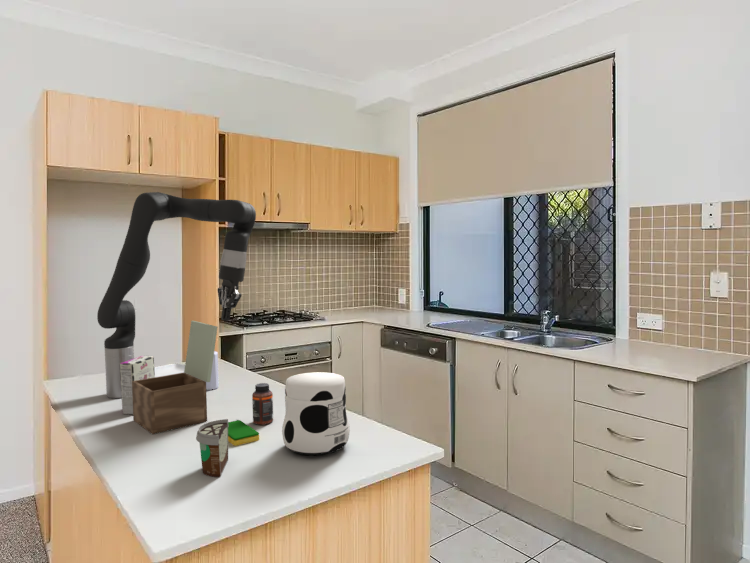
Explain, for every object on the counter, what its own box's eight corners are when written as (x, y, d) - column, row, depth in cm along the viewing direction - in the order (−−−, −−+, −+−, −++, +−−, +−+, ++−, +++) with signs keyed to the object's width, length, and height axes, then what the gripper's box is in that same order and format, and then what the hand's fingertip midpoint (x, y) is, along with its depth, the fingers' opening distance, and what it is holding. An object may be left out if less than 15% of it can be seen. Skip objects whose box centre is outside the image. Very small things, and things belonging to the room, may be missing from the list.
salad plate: (209, 376, 216) (209, 368, 216) (164, 388, 198) (164, 379, 198) (175, 370, 227) (175, 362, 227) (129, 381, 209) (129, 372, 209)
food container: (204, 459, 132) (202, 419, 131) (229, 458, 133) (228, 418, 132) (191, 481, 120) (189, 437, 119) (219, 479, 120) (217, 436, 120)
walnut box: (133, 420, 161) (131, 381, 160) (185, 409, 172) (184, 372, 171) (152, 434, 149) (150, 392, 149) (207, 421, 160) (205, 381, 159)
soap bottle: (224, 386, 199) (223, 332, 197) (207, 392, 192) (205, 335, 190) (200, 382, 206) (199, 329, 204) (183, 386, 199) (181, 332, 198)
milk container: (289, 435, 148) (288, 371, 147) (352, 435, 147) (351, 371, 146) (276, 460, 131) (274, 388, 129) (346, 461, 130) (346, 388, 129)
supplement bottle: (277, 420, 160) (276, 383, 160) (265, 426, 155) (264, 388, 154) (261, 417, 163) (260, 381, 162) (248, 423, 158) (247, 386, 157)
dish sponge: (234, 447, 140) (234, 438, 140) (215, 432, 151) (215, 424, 151) (259, 441, 145) (259, 432, 144) (239, 427, 156) (239, 419, 156)
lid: (191, 320, 172) (194, 320, 173) (184, 372, 171) (187, 372, 172) (214, 326, 160) (217, 326, 160) (206, 382, 159) (210, 382, 160)
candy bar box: (143, 404, 178) (141, 355, 177) (156, 404, 177) (154, 355, 176) (121, 414, 167) (118, 362, 166) (135, 415, 166) (133, 363, 165)
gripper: (213, 261, 169) (205, 316, 170) (230, 266, 159) (222, 323, 159) (235, 264, 174) (227, 317, 174) (253, 268, 164) (245, 324, 164)
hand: (225, 320), depth 167 cm, fingers closed
